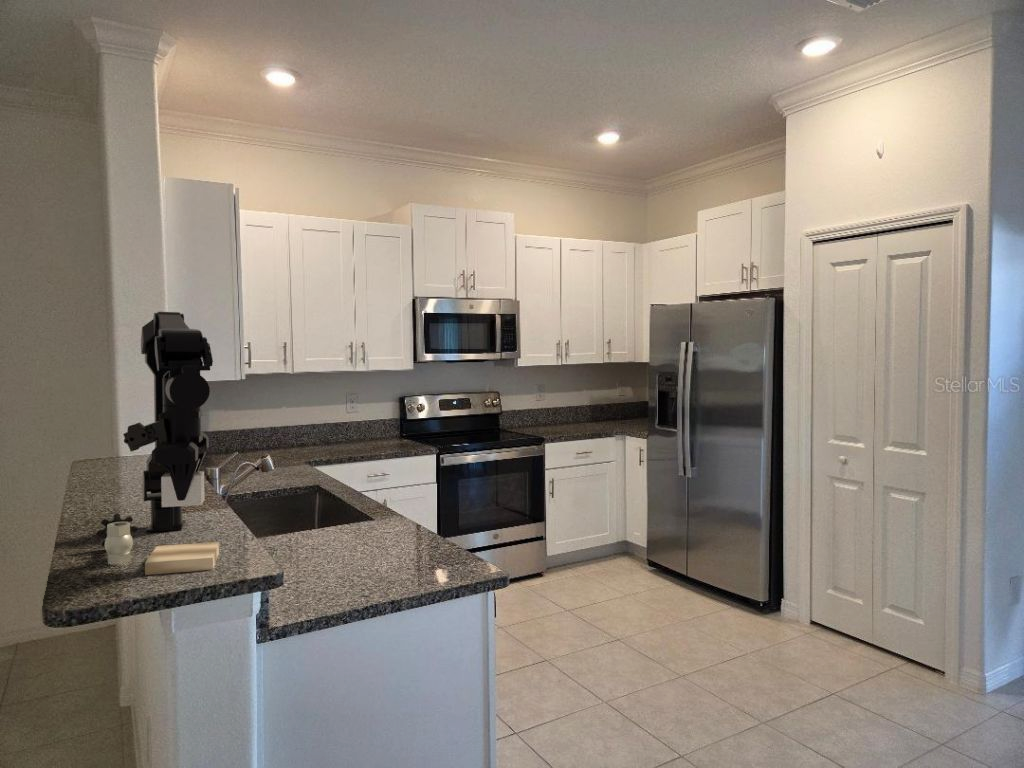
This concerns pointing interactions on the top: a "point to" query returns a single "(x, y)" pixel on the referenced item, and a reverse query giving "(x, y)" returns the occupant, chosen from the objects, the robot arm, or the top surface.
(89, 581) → the top surface
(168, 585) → the top surface
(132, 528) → the valve
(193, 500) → the aluminium block
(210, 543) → the oak plate
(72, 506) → the top surface
